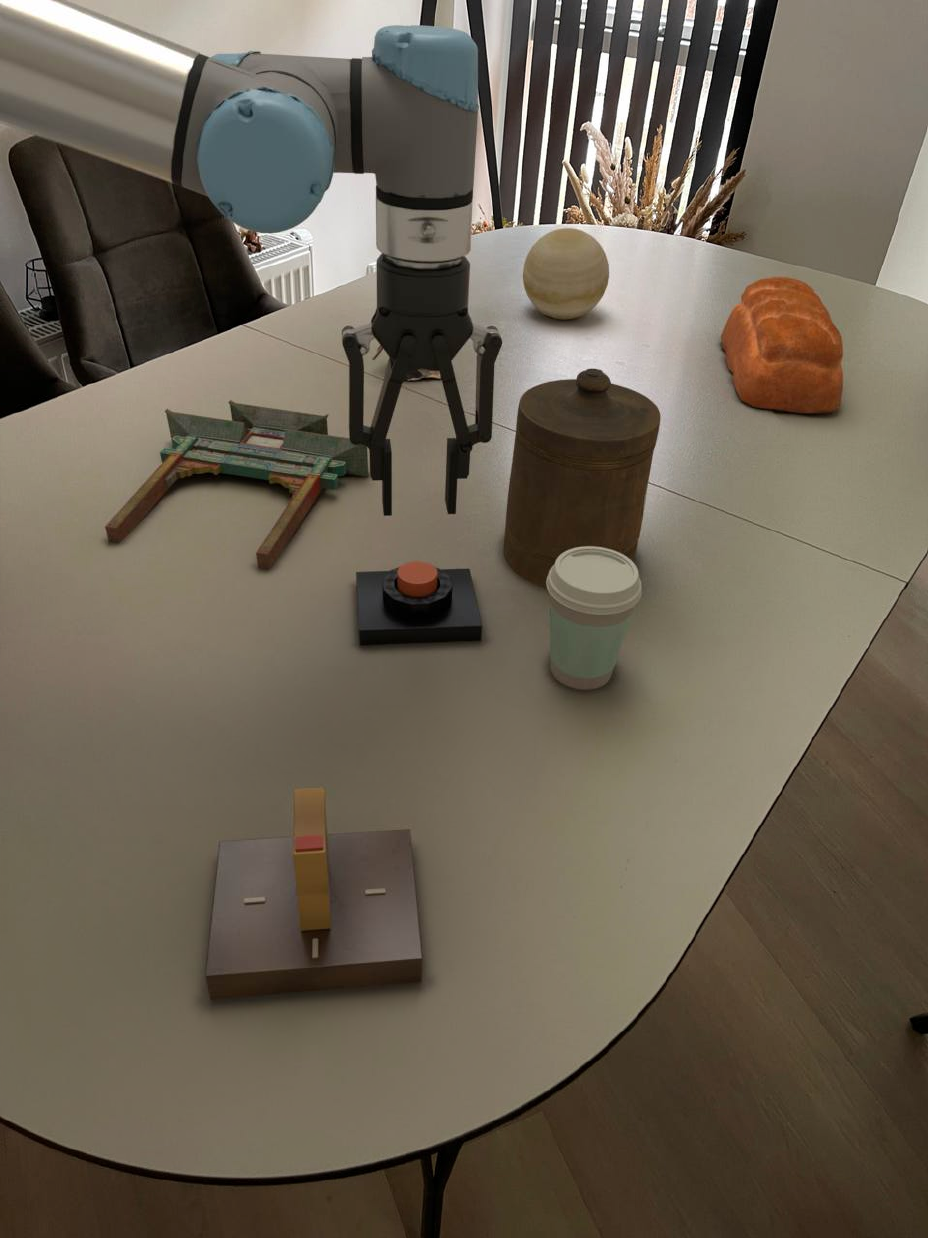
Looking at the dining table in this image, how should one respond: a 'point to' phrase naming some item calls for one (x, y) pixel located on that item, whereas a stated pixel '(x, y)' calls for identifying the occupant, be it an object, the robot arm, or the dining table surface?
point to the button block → (417, 610)
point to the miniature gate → (250, 463)
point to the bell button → (417, 579)
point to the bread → (784, 348)
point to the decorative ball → (566, 273)
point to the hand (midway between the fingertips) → (418, 507)
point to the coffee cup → (589, 613)
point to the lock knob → (311, 858)
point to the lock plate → (314, 959)
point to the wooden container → (578, 471)
